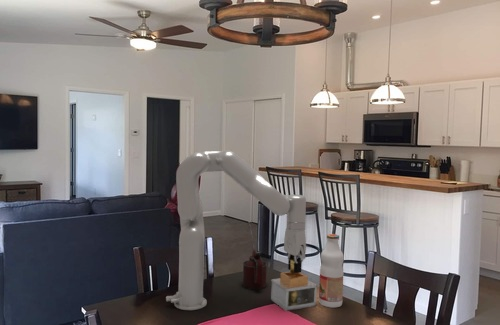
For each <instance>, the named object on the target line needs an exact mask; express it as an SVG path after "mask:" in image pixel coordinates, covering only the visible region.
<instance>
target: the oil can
mask: <svg viewBox="0 0 500 325" xmlns="http://www.w3.org/2000/svg"><path fill="white" fill-rule="evenodd" d="M247 225H248V227H249V233H250V242H251V247H252V248H251V249H252V254H251V255H250V256H249V258H248V259H249V260H246V261H245V260H244V261H243V262H242V265H243V268H242V272H243V273H242V287H244V288H246V289H249V290H262V289H264V288H266V287H267V270H268V269H267V267H268V263H267V262H266V261H264V260H262V257H261V251H256V247H255V241H254V235H253V231H252V230H253V229H252V225H251V224H250V223H248V224H247Z"/></svg>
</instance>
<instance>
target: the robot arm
mask: <svg viewBox="0 0 500 325" xmlns="http://www.w3.org/2000/svg"><path fill="white" fill-rule="evenodd" d="M206 172H207V173H208V172H209V173H210V172H224V173H225V174H226V175H227V176H228V177H229V178H231V179H232V180H233V181H234V182H236V184H238V185H239V186H240V187H241V188H242V189H243V190H244V191H246V192H247V193H248V194H249V195H251V196H253V197H254V198H255V199H256V200H258V201H259V202H260V203H261V204H263V206H265V207H266V208H267V209H268V210H269V211H271V212H272V213H273V214H274V215H276V216H284V215H286V228H285V231H284V232H285V233H284V238H283V250H284V252H285V253H286V254H287V261H288V264H287V269H288V270H289V271H290V261H291V259H295V263H294V273H299V272H300V273H302V264H303V261H304V260H305V259H306V252H307V251H306V250H307V239H306V238H307V237H306V217H307V216H306V213H307V212H306V209H307V208H306V207H307V206H306V205H307V202H306V201H307V199H306V196H305V195H302V194H283V193H281V192H280V191H279V190H277V188H275V187H274V186H273V185H271V183H270V182H268V181H267V180H266V179H265V178H264V176H262V175H261V174H260V173H259V172H258V171H257V170H256V169H254V168H253V167H252V166H251V165H250V164H249V163H247V161H245V160H244V159H243V158H242V157H240V156H239V155H238V154H237V153H236V152H234V151H232V150H227V149H226V150H217V151H215V150H213V151H211V150H210V151H209V150H207V151H206V150H205V151H204V150H203V151H195V152H193V153H192V154H190V155H189V156H187V157H185V159H183V161H182V162H181V163H180V164H179V165H178V168H177V171H176V177H175V180H176V182H175V183H176V195H177V196H176V198H177V212H178V215H179V221H180V222H179V224H180V232H179V239H178V250H179V252H178V253H179V254H178V255H179V256H178V257H179V258H178V291H176V293H175V294H174V295H167V296H166V297H165V301H166V302H170V303H172V304H174V305H173V306H174V307H175V308H177V309H179V310H183V311H195V310H201V309H203V308H204V307H206V306H207V302H208V301H207V299H206V298H205V297H204V269H205V268H204V265H205V264H204V262H205V257H204V256H205V240H206V239H205V237H206V236H205V234H206V233H205V223H204V214H203V213H204V212H203V203H202V200H201V198H200V186H199V179H200V176H201V175H202V174H203V173H206Z"/></svg>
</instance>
